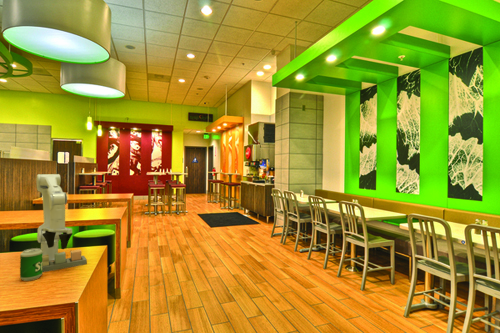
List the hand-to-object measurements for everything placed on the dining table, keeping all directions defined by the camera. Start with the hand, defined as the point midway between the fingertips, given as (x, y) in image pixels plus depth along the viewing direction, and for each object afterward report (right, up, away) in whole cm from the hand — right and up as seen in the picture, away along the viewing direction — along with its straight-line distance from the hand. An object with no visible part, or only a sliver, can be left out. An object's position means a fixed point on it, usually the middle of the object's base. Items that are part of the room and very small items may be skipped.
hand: (57, 247), depth 130 cm
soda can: (-4, -10, -11) cm, 15 cm away
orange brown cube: (+4, -8, +7) cm, 11 cm away
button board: (-1, -10, +3) cm, 10 cm away
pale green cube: (-1, -8, +3) cm, 8 cm away
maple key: (-6, -8, -1) cm, 10 cm away
